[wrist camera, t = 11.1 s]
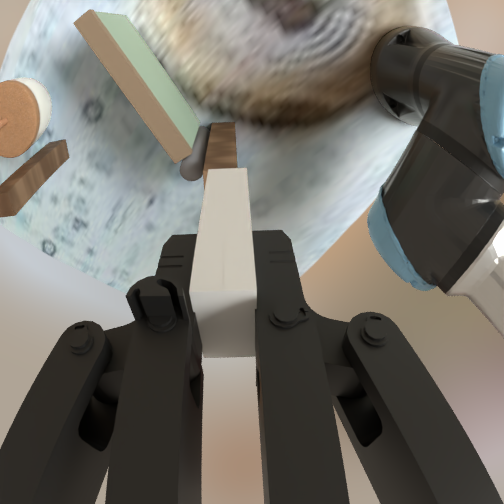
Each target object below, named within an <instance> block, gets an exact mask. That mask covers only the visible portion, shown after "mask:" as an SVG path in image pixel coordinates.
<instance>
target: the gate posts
mask: <svg viewBox="0 0 504 504" xmlns="http://www.w3.org/2000/svg"><path fill="white" fill-rule="evenodd" d="M68 158H69V153H68V149H67V144H66V139H65V140H59V141H55V142H50V143H48V144H47V145H46V146H45V147H43V148H42V149H41V150H40V151H39V152H37V153H36V154H35V155H34V156H33V157H31V158H30V159H29V160H28V161H27V162H25V163H24V164H23V165H22V166H21V167H20V168H19V169H18V170H16V171H15V172H14V173H13V174H12V175H11V176H10V177H9V178H8V179H7V180H6V181H4V182H3V183H2V184H1V185H0V217H7V216H15V215H16V214H17V213H18V212H19V210H20V209H21V208H22V207H23V206H24V205H25V204H26V202H27V201H28V200H29V199H30V198H31V197H32V196H33V194H34V193H35V192H36V191H37V190H38V189H39V188H40V187H41V186H42V185H43V184H44V183H45V182H46V180H47V179H48V178H49V177H50V176H51V175H52V174H53V173H54V172H55V171H56V170H57V169H58V168H59V167H60V166H61V165H62V164H63V163H64V162H65V161H66V160H67V159H68ZM227 168H237V153H236V136H235V122H222V123H212V126H211V131H210V136H209V141H208V147H207V152H206V157H205V163H204V169H203V179H204V191H205V185H206V180H207V174H208V169H227Z"/></svg>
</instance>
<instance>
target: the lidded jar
mask: <svg viewBox="0 0 504 504" xmlns="http://www.w3.org/2000/svg"><path fill="white" fill-rule="evenodd" d="M51 114H52V101H51V97H50V94H49V92H48V90H47V89H46V87H45V86H44V85H43V84H42V83H41V82H39V81H37V80H35V79H32V78H16V79H12V80H8V81H4V82H1V83H0V156H3V157H7V158H13V157H17V156H19V155H21V154H23V153H24V152H25V151H27V150H28V149H29V148H30V147H31V146H32V145H33V144H34V143H35V142H36V141H37V140H38V139H39V138H40V137H41V136H42V134H43V133H44V131H45V130H46V128H47V126H48V124H49V121H50V118H51Z"/></svg>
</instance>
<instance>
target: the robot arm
mask: <svg viewBox="0 0 504 504" xmlns="http://www.w3.org/2000/svg"><path fill="white" fill-rule="evenodd" d="M370 75H371V82H372V86H373V89H374V92H375V94H376V96H377V98H378V100H379V102H380V103H381V104H382V106H383V107H384V108H385V109H386V110H387V111H388V112H389V113H390V114H392V115H393V116H395V117H396V118H398V119H400V120H401V121H403V122H405V123H407V124H410V125H414V126H418V128H417V130H416V131H415V133H414V134H413V136H412V138H411V140H410V142H409V143H408V145H407V147H406V149H405V151H404V152H403V154H402V156H401V157H400V159H399V161H398V163H397V164H396V166H395V168H394V169H393V171H392V172H391V174H390V176H389V177H388V179H387V180H386V182H385V183H384V184H383V185H382V186H381V187H380V190H379V194H378V196H377V198H376V200H375V202H374V204H373V205H372V207H371V209H370V211H369V214H368V219H367V223H368V228H369V234H370V237H371V239H372V241H373V243H374V245H375V247H376V249H377V251H378V252H379V254H380V255H381V257H382V258H383V259H384V261H385V262H386V263H387V264H388V266H389V267H390V268H391V269H392V270H393V271H394V272H395V273H396V274H397V275H398V276H399V277H400V278H401V279H403V280H404V281H405V282H410V283H411V285H412V286H413V287H414V288H416V289H418V290H422V291H428V290H430V289H434V288H435V287H436V286H438V287H439V288H440V289H441V290H442V291H443V292H444V293H445V294H446V295H447V296H466V297H468V298H469V299H470V300H471V302H472V303H473V304H474V305H475V306H476V307H477V308H478V309H479V310H480V311H481V313H482V314H483V315H484V316H485V317H486V318H487V319H488V320H489V322H490V323H491V324H492V325H493V326H494V327H495V329H496V330H497V331H498V332H499V333H500V334H501V336H502V337H503V338H504V205H503V204H502V203H501V202H500V198H501V195H502V194H503V193H504V55H501V54H493V53H489V52H486V51H482V50H477V49H473V48H469V47H464V46H459V45H454V44H452V43H451V42H449V41H448V40H447V39H445V38H444V37H442V36H441V35H440V34H438V33H436V32H434V31H432V30H429V29H426V28H422V27H413V26H405V27H400V28H397V29H394V30H392V31H390V32H389V33H387V34H386V35H385V36H384V37H383V38H382V39H381V40H380V41H379V43H378V44H377V46H376V48H375V50H374V53H373V55H372V59H371V66H370ZM429 138H430V139H429ZM432 140H433V141H432ZM435 142H436V143H435ZM439 145H440V146H439ZM442 147H443V148H442ZM446 150H447V151H446ZM450 153H451V154H450ZM500 194H501V195H500ZM126 298H127V301H128V303H129V306H130V308H131V311H132V313H133V315H134V318H135V321H133V322H132V323H129V324H127V325H124V326H121V327H117V328H113V329H109V330H105V331H103V329H102V328H101V326H100V325H99V324H96V323H95V322H93V321H82V322H78V323H75V324H74V325H72V326H70V327H68V328H67V330H66V331H65V332H64V333H63V334H62V335H61V337H60V338H59V340H58V342H57V343H56V345H55V346H54V348H53V350H52V351H51V353H50V355H49V356H48V358H47V360H46V362H45V363H44V365H43V367H42V368H41V370H40V372H39V374H38V375H37V377H36V379H35V381H34V383H33V384H32V386H31V388H30V390H29V392H28V394H27V395H26V398H25V399H24V401H23V403H22V405H21V407H20V409H19V411H18V413H17V415H16V417H15V419H14V421H13V423H12V425H11V427H10V429H9V431H8V433H7V436H6V438H5V440H4V442H3V444H2V447H1V449H0V504H95V502H96V499H97V496H98V493H99V491H100V488H101V485H102V482H103V480H104V477H105V475H106V472H107V469H108V467H109V469H108V479H107V490H106V501H105V504H201V460H202V459H201V458H202V410H203V380H204V374H203V369H202V365H201V362H202V352H203V356H204V358H218V357H250V356H251V357H252V356H256V386H257V395H258V411H259V426H260V442H261V459H262V474H263V489H264V504H350V503H349V497H348V490H347V483H346V478H345V471H344V465H343V459H342V453H341V447H340V441H339V436H338V430H337V425H336V419H335V414H334V409H333V405H334V407H335V409H336V411H337V414H338V416H339V418H340V420H341V422H342V424H343V426H344V428H345V430H346V432H347V434H348V437H349V438H350V441H351V443H352V445H353V447H354V449H355V451H356V453H357V455H358V457H359V459H360V462H361V464H362V466H363V468H364V470H365V472H366V474H367V476H368V478H369V480H370V482H371V484H372V487H373V489H374V491H375V493H376V495H377V497H378V499H379V501H380V503H381V504H503V502H502V500H501V498H500V496H499V494H498V492H497V490H496V488H495V486H494V484H493V482H492V480H491V478H490V476H489V474H488V472H487V470H486V468H485V466H484V464H483V463H482V461H481V459H480V457H479V455H478V453H477V452H476V450H475V448H474V446H473V444H472V443H471V441H470V439H469V437H468V436H467V434H466V432H465V430H464V429H463V427H462V425H461V424H460V422H459V420H458V419H457V417H456V415H455V414H454V412H453V410H452V409H451V407H450V405H449V404H448V402H447V401H446V399H445V397H444V396H443V394H442V393H441V391H440V389H439V388H438V386H437V385H436V383H435V382H434V380H433V378H432V377H431V375H430V374H429V372H428V371H427V369H426V368H425V366H424V365H423V363H422V362H421V360H420V359H419V357H418V356H417V354H416V353H415V351H414V350H413V348H412V347H411V345H410V344H409V342H408V341H407V340H406V338H405V337H404V335H403V334H402V332H401V331H400V329H399V328H398V327H397V325H396V324H395V323H394V322H393V321H392V320H391V319H390V318H388V317H386V316H384V315H382V314H380V313H375V312H366V313H360V314H358V315H357V316H355V317H353V318H352V320H351V321H350V322H343V321H338V320H333V319H329V318H326V317H322V316H321V315H319V314H317V313H315V312H314V311H313V310H312V309H311V308H310V307H309V306H308V305H307V303H306V301H305V299H304V295H303V292H302V286H301V282H300V278H299V273H298V269H297V265H296V262H295V256H294V253H293V248H292V243H291V239H290V238H289V237H288V236H287V235H286V234H285V233H284V232H283V231H282V230H265V231H252V225H251V213H250V201H249V189H248V177H247V168H227V169H208V174H207V180H206V185H205V191H204V197H203V203H202V209H201V215H200V221H199V227H198V233H197V234H185V235H172V236H171V237H170V238H169V239H168V241H167V242H166V243H165V244H164V245H163V249H162V252H161V256H160V260H159V263H158V268H157V271H156V275H155V276H149V277H146V278H144V279H142V280H140V281H138V282H136V283H135V284H134V285H133V286H132V287H131V288H130V289H129V291H128V293H127V295H126Z"/></svg>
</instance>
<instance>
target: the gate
mask: <svg viewBox="0 0 504 504" xmlns="http://www.w3.org/2000/svg"><path fill="white" fill-rule="evenodd" d="M74 25H75V26H76V28H77V29H78V30H79V32H80V33H81V35H82V36H83V37H84V39H85V40H86V42H87V43H88V44H89V46H90V47H91V49H92V50H93V51H94V53H95V54H96V56H97V57H98V58H99V60H100V61H101V63H102V64H103V65H104V67H105V68H106V70H107V71H108V72H109V74H110V75H111V77H112V78H113V79H114V81H115V82H116V83H117V85H118V86H119V88H120V89H121V90H122V92H123V93H124V95H125V96H126V97H127V99H128V100H129V101H130V103H131V104H132V106H133V107H134V108H135V110H136V111H137V112H138V114H139V115H140V117H141V118H142V119H143V121H144V122H145V123H146V125H147V126H148V128H149V129H150V130H151V132H152V133H153V134H154V136H155V137H156V138H157V140H158V141H159V143H160V144H161V145H162V147H163V148H164V149H165V151H166V152H167V154H168V155H169V156H170V158H171V159H172V160H173V162H174V163H175V164H176V163H177V162H179V161H181V160H182V159H183V160H182V163H181V166H180V174H181V176H182V177H183V178H184V179H186V180H188V181H196V180H198V179H199V178H201V176H202V175H203V169H204V163H205V157H206V152H207V147H208V141H209V136H210V131H209V130H208V128H206V127H204V126H199V125H200V121H199V120H198V118H197V117H196V115H195V114H194V112H193V111H192V109H191V108H190V107H189V105H188V104H187V102H186V101H185V99H184V98H183V96H182V95H181V93H180V92H179V90H178V89H177V87H176V86H175V84H174V83H173V82H172V80H171V79H170V77H169V76H168V74H167V73H166V71H165V70H164V68H163V67H162V66H161V64H160V63H159V61H158V60H157V58H156V57H155V56H154V54H153V53H152V51H151V50H150V48H149V47H148V46H147V44H146V43H145V41H144V40H143V38H142V37H141V36H140V34H139V33H138V31H137V30H136V29H135V27H134V26H133V24H132V23H131V22H130V20H129V19H128V17H127V16H126V15H119V14H112V13H104V12H95V11H94V10H88V11H87V12H86V13H84V14H83V15H82V16H81V17H80V18H79V19H77V20H76V21H75V22H74Z"/></svg>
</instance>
